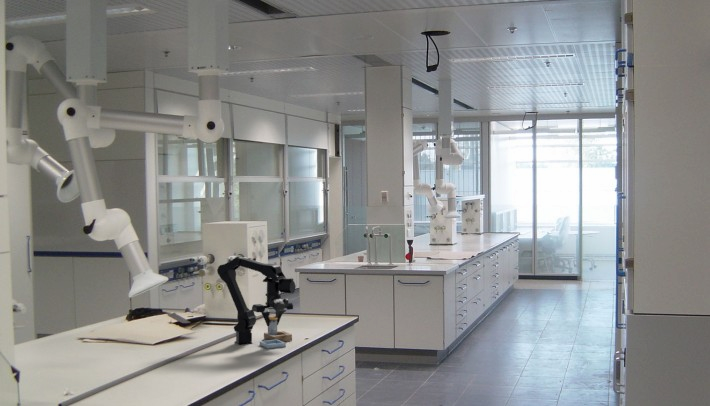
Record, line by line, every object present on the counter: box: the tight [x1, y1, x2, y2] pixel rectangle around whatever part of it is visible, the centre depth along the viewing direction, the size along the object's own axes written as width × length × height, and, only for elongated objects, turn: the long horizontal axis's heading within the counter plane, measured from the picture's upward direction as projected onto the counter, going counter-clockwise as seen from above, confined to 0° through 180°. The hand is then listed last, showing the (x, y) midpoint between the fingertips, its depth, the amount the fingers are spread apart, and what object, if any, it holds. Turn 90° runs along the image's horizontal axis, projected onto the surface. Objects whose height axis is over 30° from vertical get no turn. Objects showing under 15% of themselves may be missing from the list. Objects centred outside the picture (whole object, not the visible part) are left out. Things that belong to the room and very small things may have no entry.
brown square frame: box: [263, 330, 293, 343], centre depth 352 cm, size 10×10×3 cm
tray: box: [259, 339, 287, 350], centre depth 339 cm, size 9×9×2 cm
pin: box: [267, 315, 278, 335], centre depth 339 cm, size 5×5×8 cm
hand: (272, 325), depth 339 cm, fingers closed on pin, 4 cm apart
